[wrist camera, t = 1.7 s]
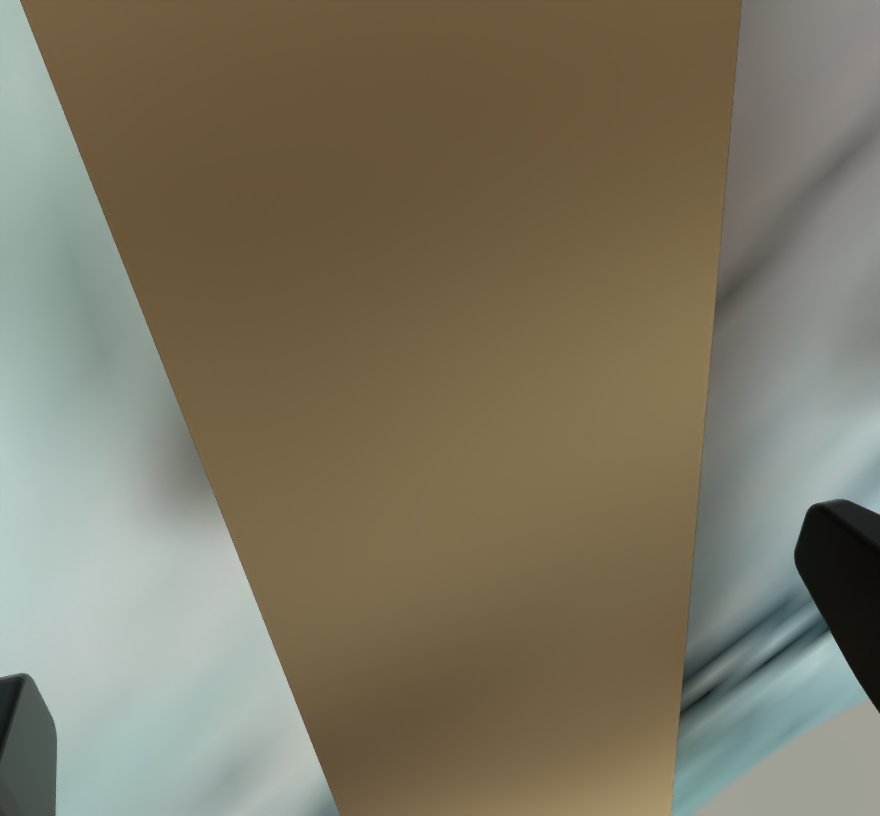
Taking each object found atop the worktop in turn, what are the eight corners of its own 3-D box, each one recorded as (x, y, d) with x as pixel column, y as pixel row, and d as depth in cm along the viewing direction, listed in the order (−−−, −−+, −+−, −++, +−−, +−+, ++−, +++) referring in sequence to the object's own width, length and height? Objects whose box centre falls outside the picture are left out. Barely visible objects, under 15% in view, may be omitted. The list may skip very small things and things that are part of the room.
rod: (564, 814, 17) (651, 1036, 14) (403, 867, 17) (456, 1110, 13) (461, -733, 5) (885, -1655, 2) (-104, -697, 5) (-689, -1804, 2)
